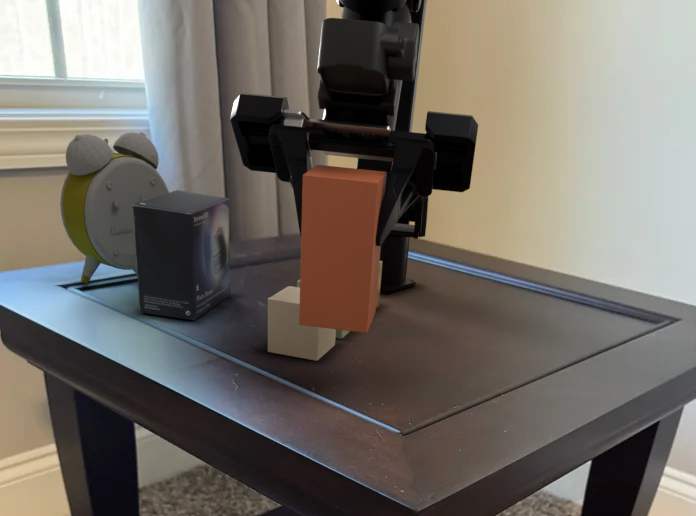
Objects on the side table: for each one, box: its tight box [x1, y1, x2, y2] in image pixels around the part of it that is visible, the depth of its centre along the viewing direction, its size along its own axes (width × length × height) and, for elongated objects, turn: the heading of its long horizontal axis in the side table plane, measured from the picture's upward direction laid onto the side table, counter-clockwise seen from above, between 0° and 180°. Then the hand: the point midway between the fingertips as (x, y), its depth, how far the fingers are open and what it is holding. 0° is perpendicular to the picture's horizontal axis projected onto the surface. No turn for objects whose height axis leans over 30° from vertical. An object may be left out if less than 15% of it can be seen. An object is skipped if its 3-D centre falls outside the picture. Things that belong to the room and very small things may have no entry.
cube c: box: [267, 285, 336, 362], centre depth 72 cm, size 5×5×5 cm
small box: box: [132, 189, 231, 321], centre depth 80 cm, size 11×6×10 cm, turn 168°
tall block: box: [299, 164, 387, 334], centre depth 60 cm, size 6×6×11 cm
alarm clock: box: [60, 131, 170, 285], centre depth 84 cm, size 12×7×15 cm, turn 144°
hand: (339, 238), depth 59 cm, fingers closed on tall block, 5 cm apart
